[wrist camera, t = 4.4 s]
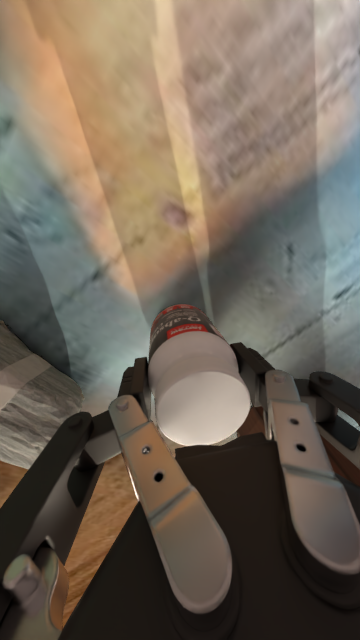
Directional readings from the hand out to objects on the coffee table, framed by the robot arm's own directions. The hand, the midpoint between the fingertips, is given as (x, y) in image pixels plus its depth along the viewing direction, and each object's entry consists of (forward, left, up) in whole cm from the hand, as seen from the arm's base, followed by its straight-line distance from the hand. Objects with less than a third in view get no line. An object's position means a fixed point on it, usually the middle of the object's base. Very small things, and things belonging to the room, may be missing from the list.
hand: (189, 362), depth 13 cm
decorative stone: (-2, +15, -6) cm, 16 cm away
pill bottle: (0, 0, -6) cm, 6 cm away
